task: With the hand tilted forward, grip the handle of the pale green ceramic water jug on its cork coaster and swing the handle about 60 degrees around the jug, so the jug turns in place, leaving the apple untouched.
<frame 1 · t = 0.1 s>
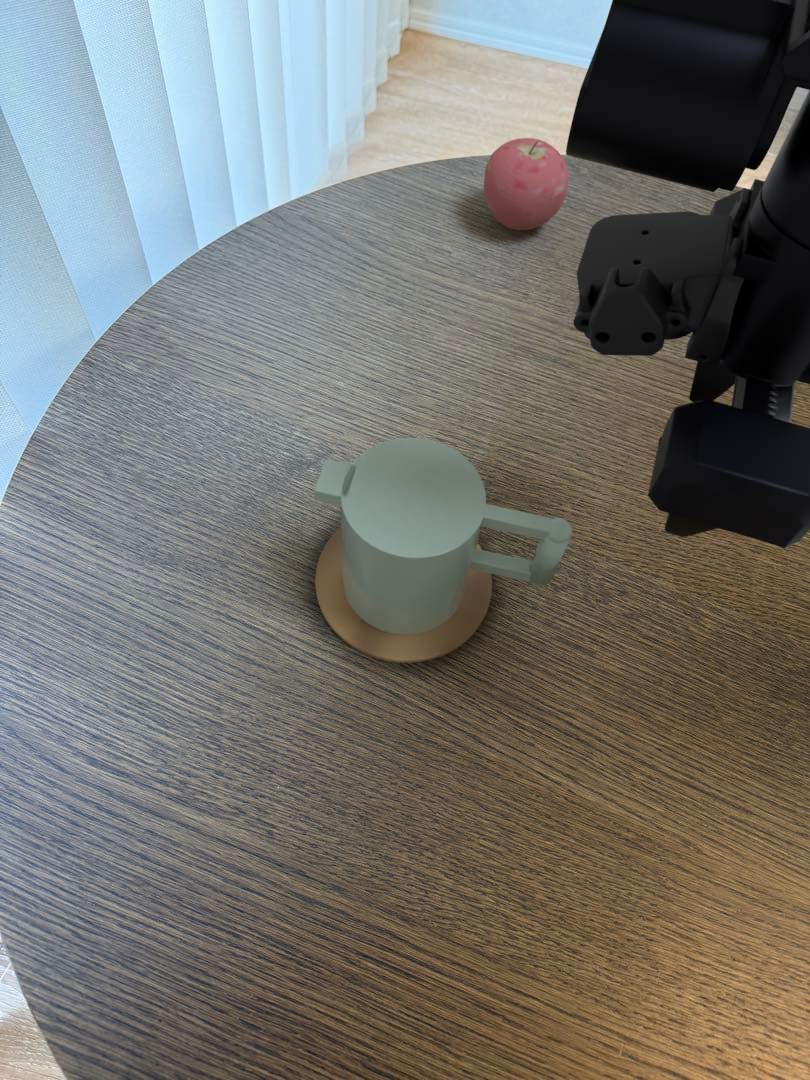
hand: (687, 463, 44), 15 cm above the table, tool pointing down, fingers open, 9 cm apart
jug: (437, 546, 51), point 5 cm above the table, hinge at 0.0°
coaster: (403, 581, 56), on the table
apple: (516, 222, 77), on the table
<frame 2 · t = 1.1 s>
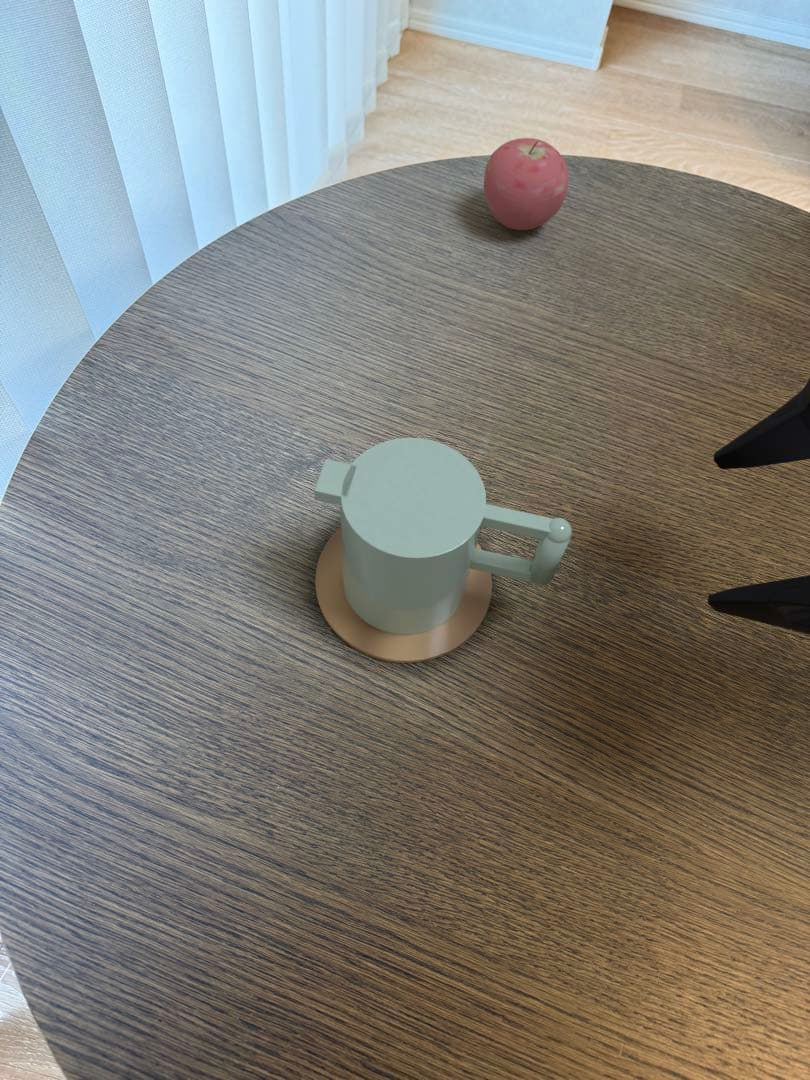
hand: (713, 528, 44), 13 cm above the table, tool tilted 45°, fingers open, 9 cm apart
nothing on the table moved.
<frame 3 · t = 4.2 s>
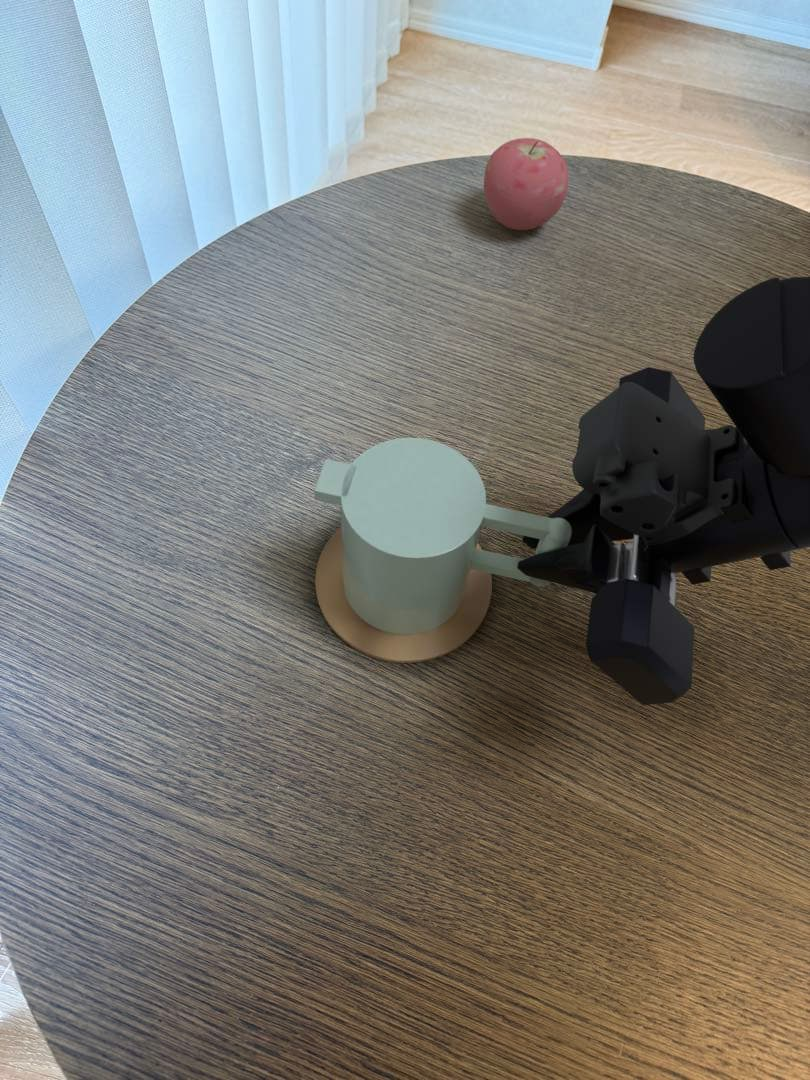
hand: (523, 555, 50), 7 cm above the table, tool tilted 45°, fingers closed on jug, 2 cm apart
jug: (437, 546, 51), point 5 cm above the table, hinge at 0.0°, touching gripper
everything else where it was.
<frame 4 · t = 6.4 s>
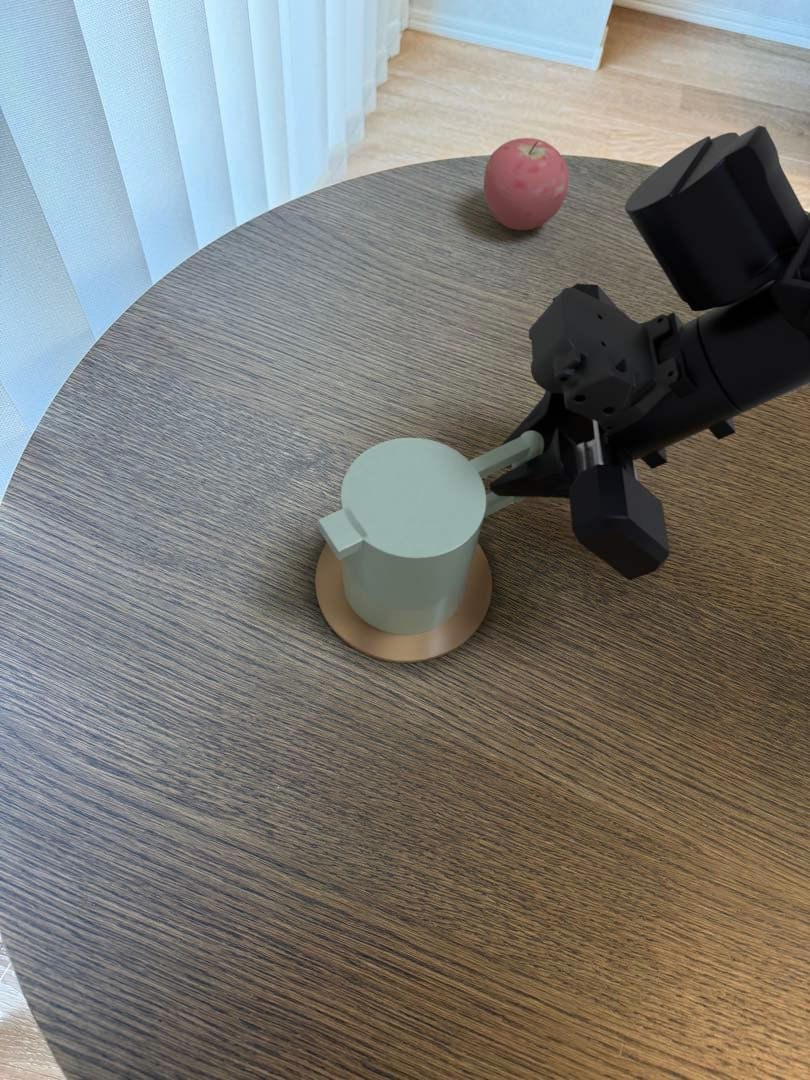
hand: (492, 477, 54), 6 cm above the table, tool tilted 45°, fingers closed, pressing on jug
jug: (433, 527, 52), point 5 cm above the table, hinge at 44.3°, touching gripper
everything else where it was.
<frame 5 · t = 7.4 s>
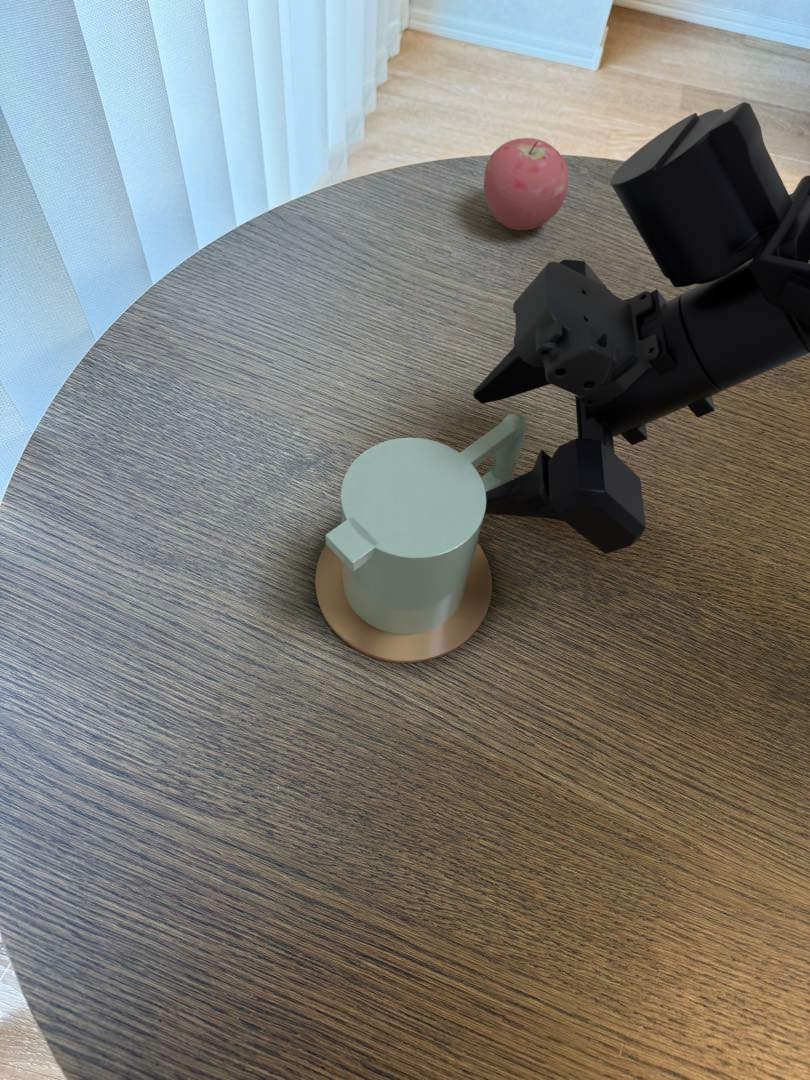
hand: (476, 450, 54), 7 cm above the table, tool tilted 45°, fingers open, 9 cm apart
jug: (430, 524, 52), point 5 cm above the table, hinge at 55.0°, touching gripper
everything else where it was.
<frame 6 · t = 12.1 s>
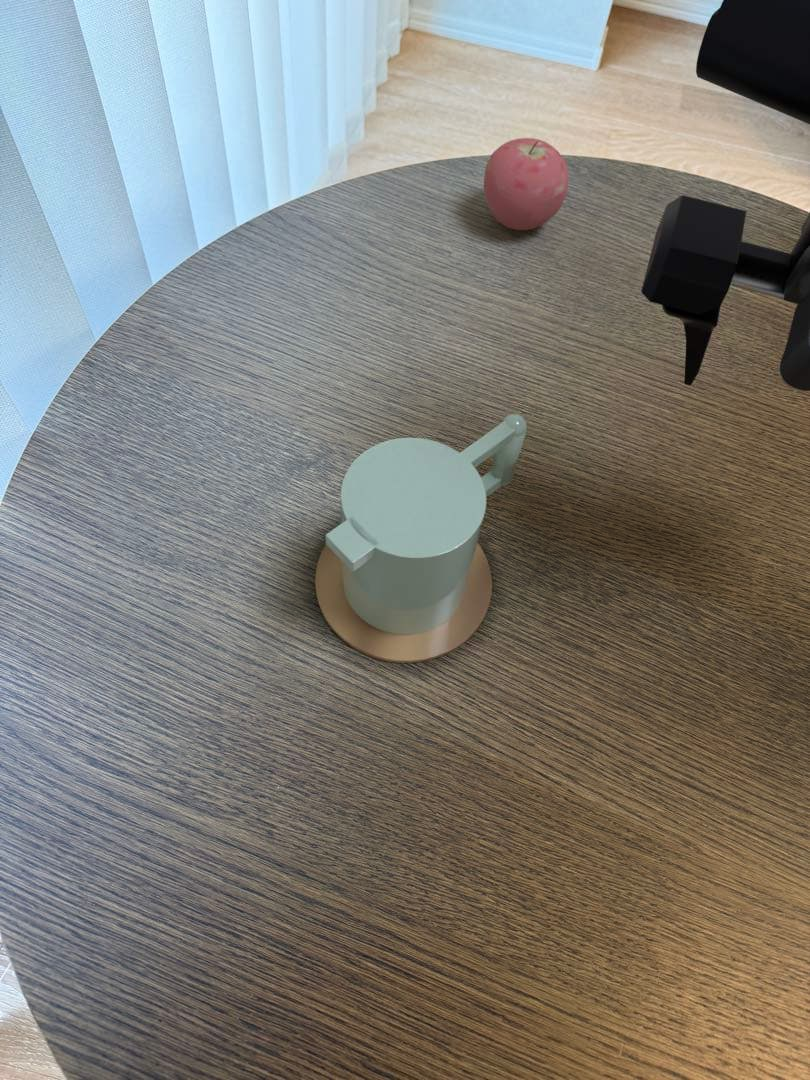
hand: (764, 401, 49), 13 cm above the table, tool pointing down, fingers open, 9 cm apart
jug: (430, 524, 52), point 5 cm above the table, hinge at 55.0°
everything else where it was.
at the end: jug at +55° (first picture: +0°); the gripper is holding nothing; apple moved 0.2 cm from its start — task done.
